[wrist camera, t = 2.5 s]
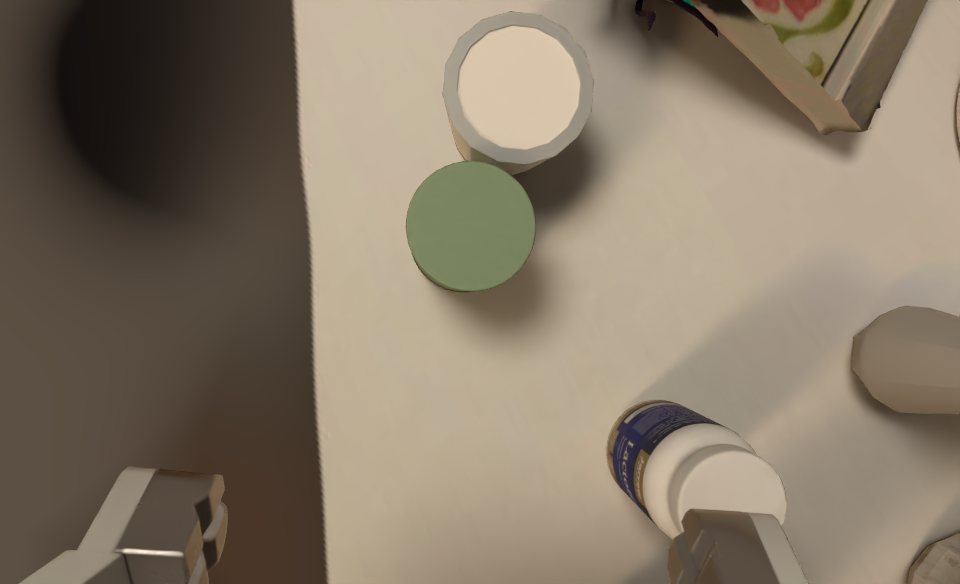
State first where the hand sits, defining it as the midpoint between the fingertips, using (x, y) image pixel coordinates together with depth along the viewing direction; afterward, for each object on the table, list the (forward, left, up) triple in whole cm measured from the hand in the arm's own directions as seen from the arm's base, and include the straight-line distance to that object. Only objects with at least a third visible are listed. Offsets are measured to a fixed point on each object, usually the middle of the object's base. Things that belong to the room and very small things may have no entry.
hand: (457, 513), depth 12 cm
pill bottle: (-13, +2, -25) cm, 28 cm away
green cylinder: (0, -7, -25) cm, 26 cm away
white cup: (0, -13, -25) cm, 28 cm away
